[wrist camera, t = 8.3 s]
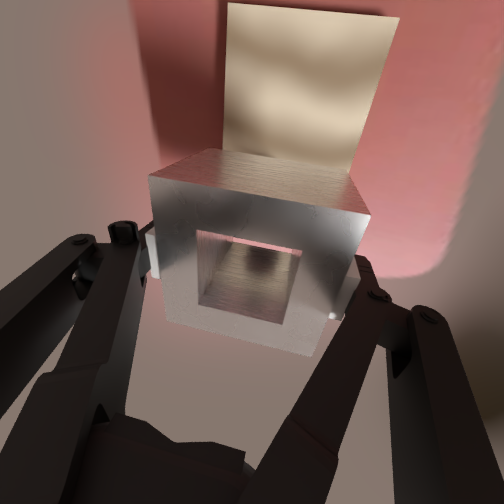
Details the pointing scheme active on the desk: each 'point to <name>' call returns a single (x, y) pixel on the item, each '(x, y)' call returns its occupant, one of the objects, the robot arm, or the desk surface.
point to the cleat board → (301, 81)
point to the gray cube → (251, 257)
